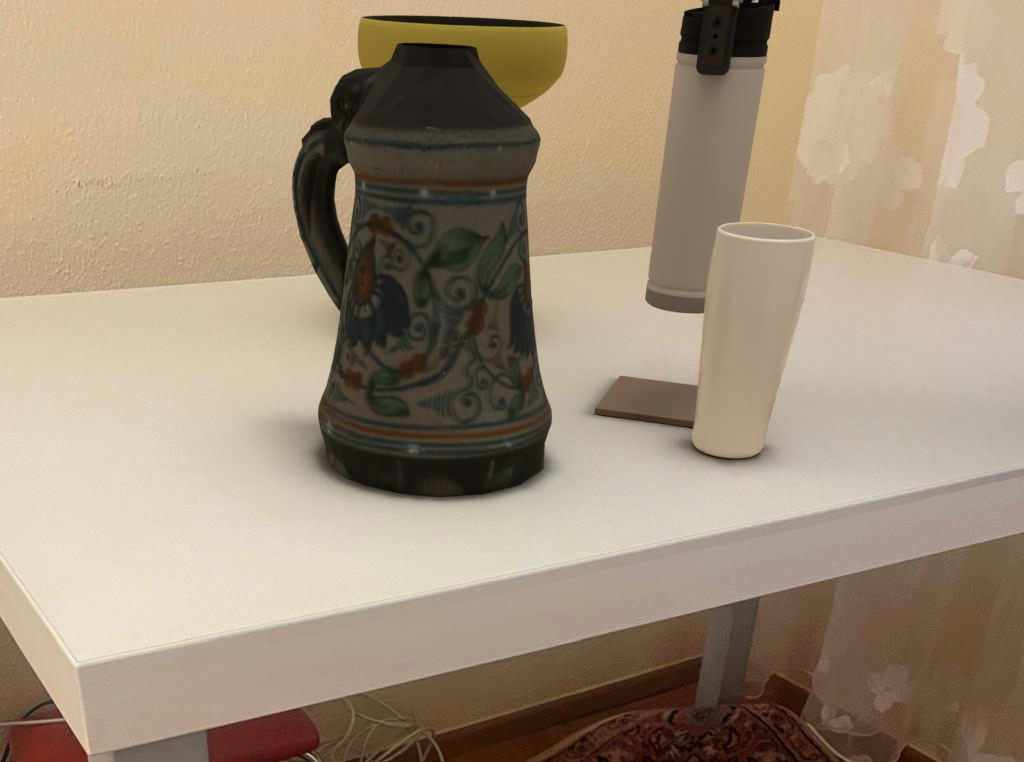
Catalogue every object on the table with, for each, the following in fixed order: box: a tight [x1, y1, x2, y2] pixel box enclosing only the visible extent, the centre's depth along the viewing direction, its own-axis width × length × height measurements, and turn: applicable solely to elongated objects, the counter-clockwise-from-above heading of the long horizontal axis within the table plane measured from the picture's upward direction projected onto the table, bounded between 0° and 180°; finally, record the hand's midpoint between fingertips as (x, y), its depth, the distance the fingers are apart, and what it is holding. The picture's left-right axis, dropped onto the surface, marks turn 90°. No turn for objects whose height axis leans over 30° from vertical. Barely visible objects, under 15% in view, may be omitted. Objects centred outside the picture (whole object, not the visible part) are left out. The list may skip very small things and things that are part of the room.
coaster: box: [593, 375, 698, 428], centre depth 98 cm, size 10×10×1 cm
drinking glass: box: [691, 221, 817, 459], centre depth 85 cm, size 7×7×15 cm
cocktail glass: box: [357, 14, 569, 109], centre depth 109 cm, size 18×18×25 cm
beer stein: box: [291, 43, 553, 497], centre depth 79 cm, size 16×19×25 cm
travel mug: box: [644, 0, 781, 315], centre depth 88 cm, size 6×7×20 cm
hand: (718, 70), depth 84 cm, fingers closed on travel mug, 6 cm apart
